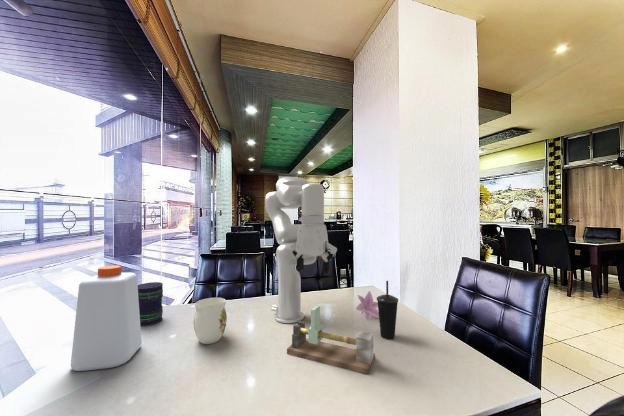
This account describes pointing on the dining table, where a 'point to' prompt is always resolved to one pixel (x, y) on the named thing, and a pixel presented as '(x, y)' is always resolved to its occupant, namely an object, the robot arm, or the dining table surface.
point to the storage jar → (150, 303)
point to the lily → (368, 306)
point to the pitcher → (210, 319)
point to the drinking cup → (387, 314)
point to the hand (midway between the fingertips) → (312, 271)
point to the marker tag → (315, 326)
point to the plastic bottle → (106, 320)
